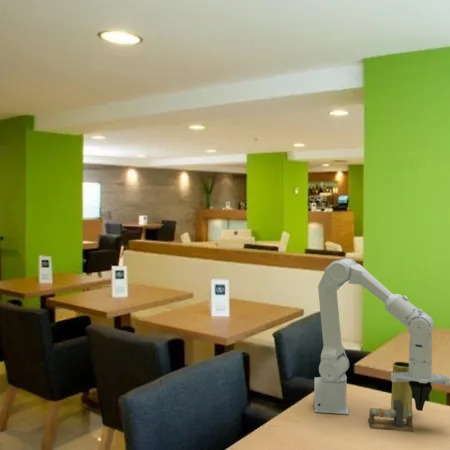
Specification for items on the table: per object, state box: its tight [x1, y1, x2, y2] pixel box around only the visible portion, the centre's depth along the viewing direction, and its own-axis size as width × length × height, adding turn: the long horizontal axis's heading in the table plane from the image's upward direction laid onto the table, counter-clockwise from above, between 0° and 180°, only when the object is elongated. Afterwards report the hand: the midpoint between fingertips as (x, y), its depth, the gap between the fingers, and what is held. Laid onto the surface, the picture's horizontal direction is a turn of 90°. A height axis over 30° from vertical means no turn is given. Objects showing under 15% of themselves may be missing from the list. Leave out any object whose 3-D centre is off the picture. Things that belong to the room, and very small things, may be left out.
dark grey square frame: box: [393, 400, 404, 426], centre depth 134 cm, size 2×4×5 cm, turn 171°
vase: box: [390, 360, 414, 416], centre depth 142 cm, size 6×6×14 cm
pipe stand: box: [367, 407, 414, 432], centre depth 134 cm, size 11×5×4 cm, turn 81°
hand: (419, 409), depth 133 cm, fingers closed
